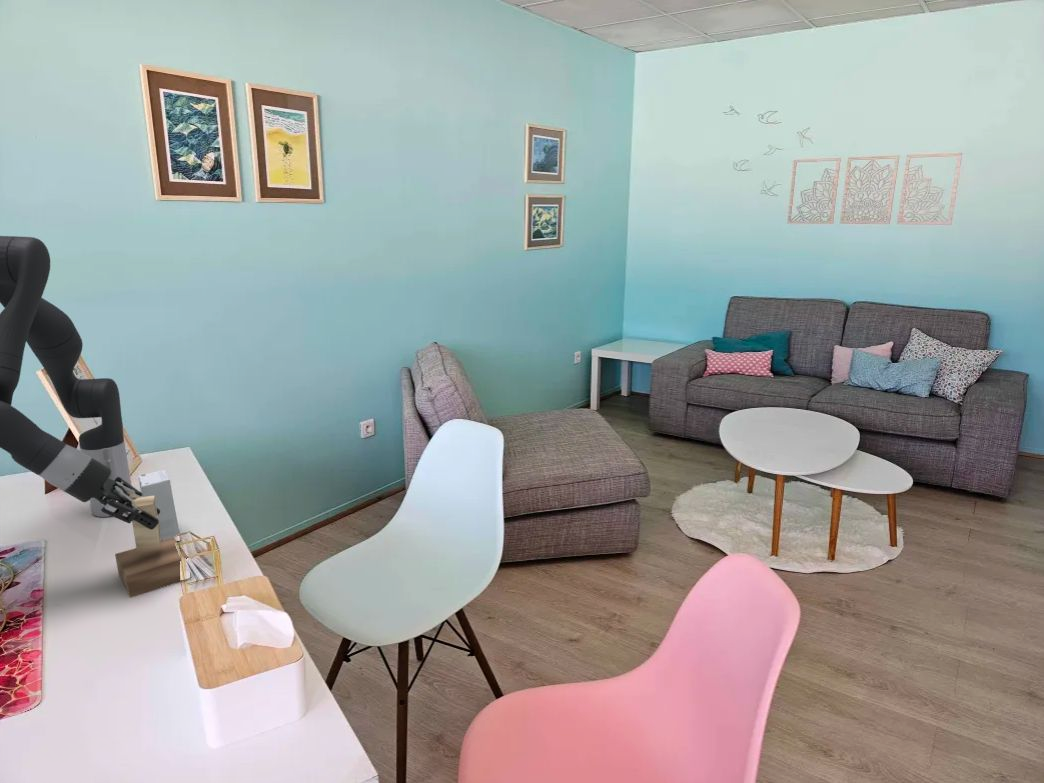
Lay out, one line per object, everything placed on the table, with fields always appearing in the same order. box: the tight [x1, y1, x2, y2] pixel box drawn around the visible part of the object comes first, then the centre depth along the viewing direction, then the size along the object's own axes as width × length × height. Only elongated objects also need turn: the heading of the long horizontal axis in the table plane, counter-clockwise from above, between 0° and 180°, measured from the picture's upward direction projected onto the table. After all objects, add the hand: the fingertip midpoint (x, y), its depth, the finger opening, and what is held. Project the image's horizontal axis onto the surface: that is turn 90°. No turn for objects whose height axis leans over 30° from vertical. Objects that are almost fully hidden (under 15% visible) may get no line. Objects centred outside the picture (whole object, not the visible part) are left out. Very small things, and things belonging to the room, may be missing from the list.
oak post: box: [130, 495, 161, 550], centre depth 136 cm, size 5×4×9 cm
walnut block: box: [114, 538, 189, 598], centre depth 139 cm, size 11×11×5 cm
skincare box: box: [137, 469, 181, 541], centre depth 154 cm, size 8×6×15 cm
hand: (156, 519), depth 137 cm, fingers closed on oak post, 4 cm apart
